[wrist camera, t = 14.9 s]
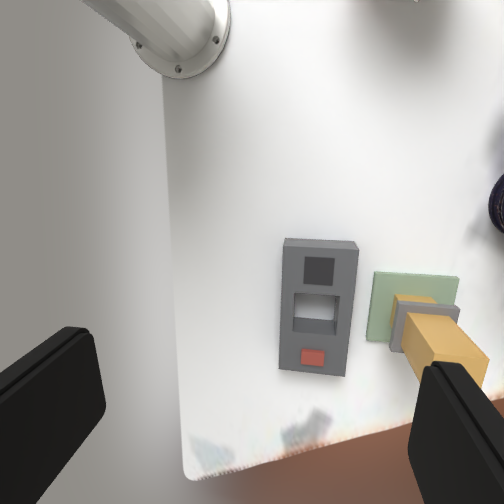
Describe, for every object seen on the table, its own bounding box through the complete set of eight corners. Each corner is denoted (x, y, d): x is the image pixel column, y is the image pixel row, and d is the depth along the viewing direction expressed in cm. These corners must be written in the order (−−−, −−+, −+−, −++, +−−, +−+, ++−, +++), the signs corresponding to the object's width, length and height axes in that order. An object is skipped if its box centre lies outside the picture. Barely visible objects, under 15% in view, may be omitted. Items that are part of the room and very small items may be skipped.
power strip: (285, 238, 41) (282, 247, 36) (354, 241, 39) (360, 251, 35) (280, 351, 46) (278, 371, 42) (341, 358, 44) (345, 379, 40)
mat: (374, 271, 40) (375, 273, 39) (456, 276, 38) (459, 278, 38) (365, 337, 43) (366, 340, 42) (441, 344, 41) (444, 347, 40)
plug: (388, 286, 39) (425, 343, 27) (440, 290, 38) (504, 351, 26) (381, 329, 41) (413, 400, 29) (431, 334, 40) (486, 410, 28)
